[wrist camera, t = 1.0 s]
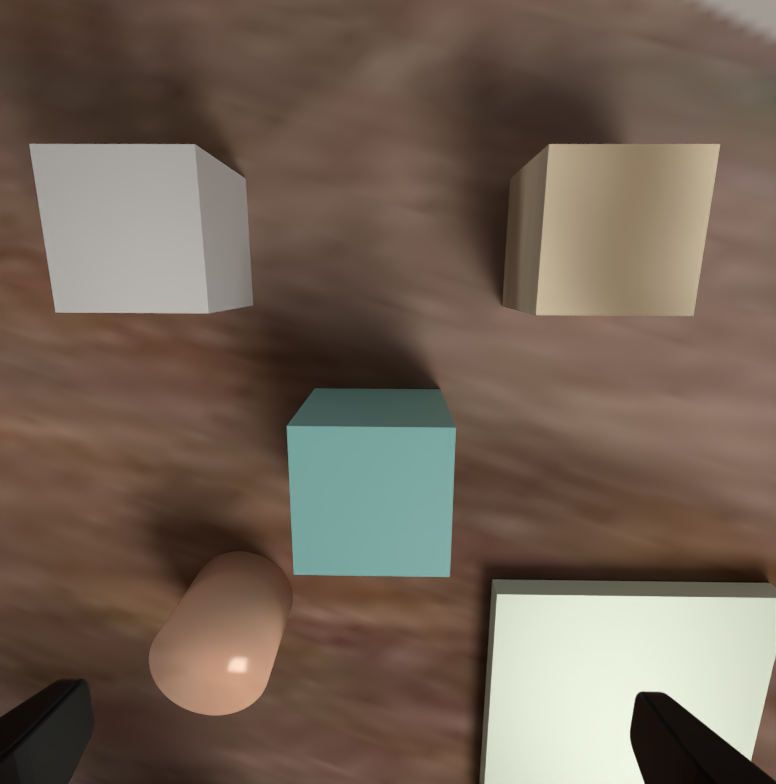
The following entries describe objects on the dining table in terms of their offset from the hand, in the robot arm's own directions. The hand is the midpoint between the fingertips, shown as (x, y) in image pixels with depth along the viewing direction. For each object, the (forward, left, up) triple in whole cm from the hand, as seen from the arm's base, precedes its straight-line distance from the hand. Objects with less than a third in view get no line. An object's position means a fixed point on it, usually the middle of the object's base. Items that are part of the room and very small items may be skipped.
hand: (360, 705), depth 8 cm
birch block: (+7, +8, -12) cm, 16 cm away
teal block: (0, 0, -12) cm, 12 cm away
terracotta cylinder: (-6, -7, -12) cm, 15 cm away
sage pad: (+11, -12, -12) cm, 20 cm away
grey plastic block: (-7, +8, -12) cm, 16 cm away
